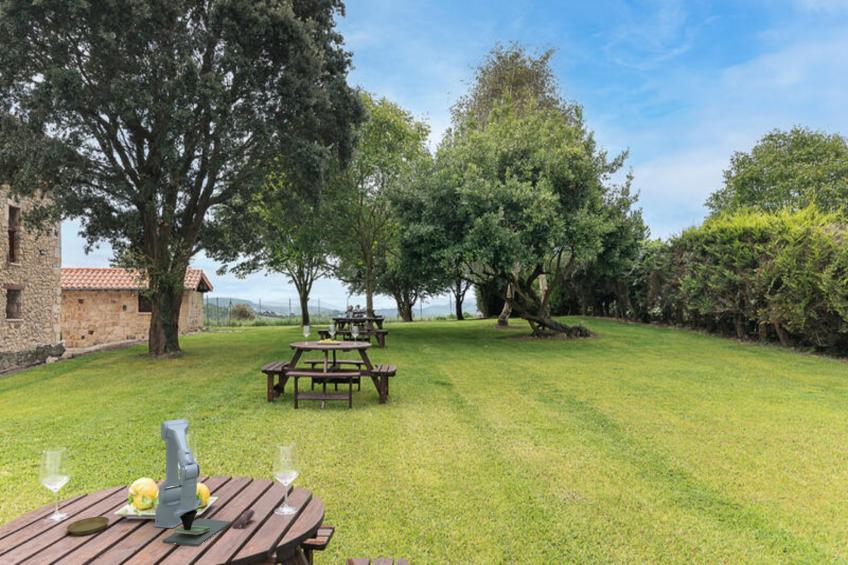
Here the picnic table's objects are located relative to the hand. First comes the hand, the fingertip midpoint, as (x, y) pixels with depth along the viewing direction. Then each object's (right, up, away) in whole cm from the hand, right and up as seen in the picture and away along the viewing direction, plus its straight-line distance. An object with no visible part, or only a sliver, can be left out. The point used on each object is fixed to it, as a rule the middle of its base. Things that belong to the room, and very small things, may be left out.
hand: (187, 530), depth 198 cm
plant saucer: (-46, -5, +9) cm, 47 cm away
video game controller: (+17, -5, +15) cm, 24 cm away
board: (+1, -4, +7) cm, 8 cm away
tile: (+1, -1, +4) cm, 4 cm away
